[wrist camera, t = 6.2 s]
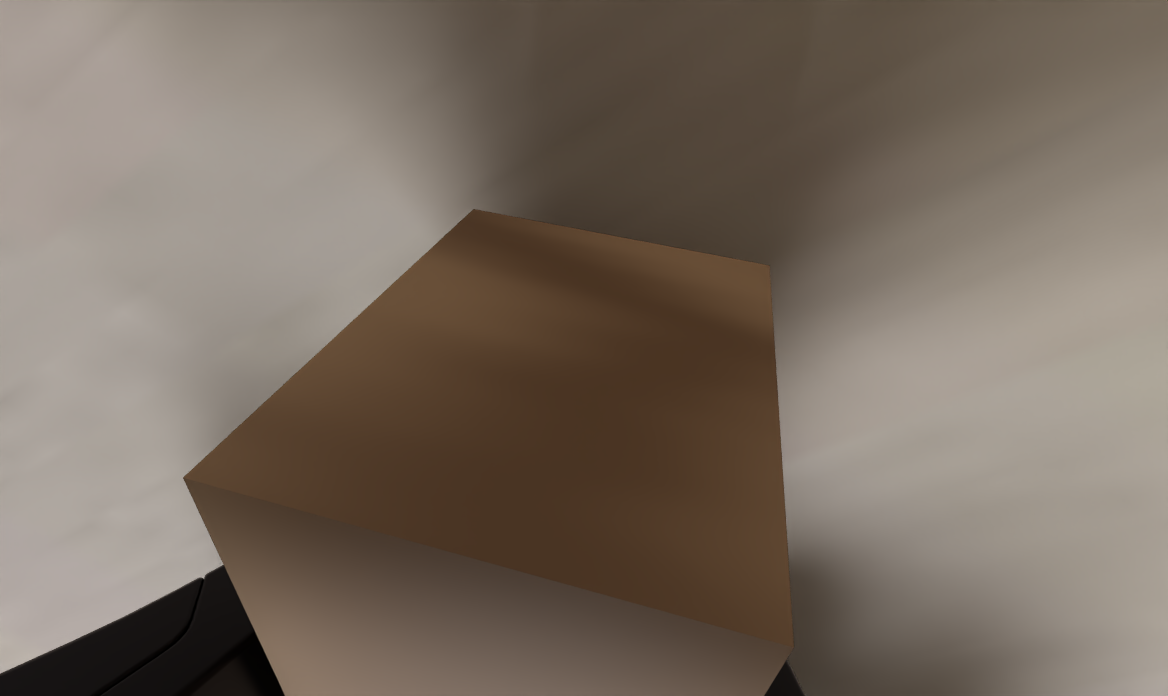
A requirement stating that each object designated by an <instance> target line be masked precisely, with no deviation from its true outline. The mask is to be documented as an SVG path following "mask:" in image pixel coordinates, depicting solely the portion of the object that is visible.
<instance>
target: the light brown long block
mask: <svg viewBox="0 0 1168 696" xmlns="http://www.w3.org/2000/svg"><path fill="white" fill-rule="evenodd" d="M183 479H184V481H185V483H186V485H187V487H188V489H189V492H190V494H191V496H192V498H193V500H194V502H195V504H196V506H197V509H198V511H199V513H200V515H201V517H202V519H203V521H204V524H205V526H206V528H207V530H208V532H209V534H210V536H211V539H212V541H213V543H214V545H215V547H216V549H217V551H218V553H219V556H220V558H221V560H222V562H223V564H224V566H225V568H226V571H227V573H228V575H229V577H230V579H231V581H232V583H233V585H234V588H235V590H236V592H237V594H238V596H239V598H240V600H241V603H242V605H243V607H244V609H245V611H246V613H247V615H248V617H249V620H250V622H251V624H252V626H253V628H254V630H255V632H256V635H257V637H258V639H259V641H260V643H261V645H262V647H263V649H264V652H265V654H266V656H267V658H268V660H269V662H270V664H271V667H272V669H273V671H274V673H275V675H276V677H277V679H278V681H279V684H280V686H281V688H282V690H283V692H284V694H285V696H764V695H765V693H766V692H767V690H768V689H769V687H770V685H771V684H772V682H773V681H774V679H775V677H776V676H777V674H778V673H779V671H780V669H781V668H782V666H783V664H784V663H785V661H786V660H787V658H788V656H789V655H790V653H791V652H792V650H793V648H794V640H793V624H792V608H791V593H790V577H789V562H788V546H787V530H786V515H785V499H784V484H783V468H782V453H781V437H780V421H779V406H778V390H777V375H776V359H775V343H774V328H773V312H772V297H771V281H770V266H769V265H764V264H759V263H754V262H748V261H743V260H738V259H733V258H727V257H722V256H717V255H712V254H707V253H701V252H696V251H691V250H686V249H680V248H675V247H670V246H665V245H659V244H654V243H649V242H644V241H638V240H633V239H628V238H623V237H617V236H612V235H607V234H602V233H596V232H591V231H586V230H581V229H575V228H570V227H565V226H560V225H554V224H549V223H544V222H539V221H533V220H528V219H523V218H518V217H512V216H507V215H502V214H497V213H491V212H486V211H481V210H476V209H473V210H472V211H471V212H470V213H469V214H468V215H467V216H466V217H465V218H464V219H462V220H461V221H460V222H459V223H458V224H457V225H456V226H455V227H454V228H453V229H452V230H451V231H449V232H448V233H447V234H446V235H445V236H444V237H443V238H442V239H441V240H440V241H439V242H438V243H436V244H435V245H434V246H433V247H432V248H431V249H430V250H429V251H428V252H427V253H426V254H425V255H423V256H422V257H421V258H420V259H419V260H418V261H417V262H416V263H415V264H414V265H413V266H412V267H411V268H409V269H408V270H407V271H406V272H405V273H404V274H403V275H402V276H401V277H400V278H399V279H398V280H396V281H395V282H394V283H393V284H392V285H391V286H390V287H389V288H388V289H387V290H386V291H385V292H383V293H382V294H381V295H380V296H379V297H378V298H377V299H376V300H375V301H374V302H373V303H372V304H370V305H369V306H368V307H367V308H366V309H365V310H364V311H363V312H362V313H361V314H360V315H359V316H357V317H356V318H355V319H354V320H353V321H352V322H351V323H350V324H349V325H348V326H347V327H346V328H345V329H343V330H342V331H341V332H340V333H339V334H338V335H337V336H336V337H335V338H334V339H333V340H332V341H330V342H329V343H328V344H327V345H326V346H325V347H324V348H323V349H322V350H321V351H320V352H319V353H317V354H316V355H315V356H314V357H313V358H312V359H311V360H310V361H309V362H308V363H307V364H306V365H304V366H303V367H302V368H301V369H300V370H299V371H298V372H297V373H296V374H295V375H294V376H293V377H291V378H290V379H289V380H288V381H287V382H286V383H285V384H284V385H283V386H282V387H281V388H280V389H279V390H277V391H276V392H275V393H274V394H273V395H272V396H271V397H270V398H269V399H268V400H267V401H266V402H264V403H263V404H262V405H261V406H260V407H259V408H258V409H257V410H256V411H255V412H254V413H253V414H251V415H250V416H249V417H248V418H247V419H246V420H245V421H244V422H243V423H242V424H241V425H240V426H238V427H237V428H236V429H235V430H234V431H233V432H232V433H231V434H230V435H229V436H228V437H227V438H225V439H224V440H223V441H222V442H221V443H220V444H219V445H218V446H217V447H216V448H215V449H214V450H213V451H211V452H210V453H209V454H208V455H207V456H206V457H205V458H204V459H203V460H202V461H201V462H200V463H198V464H197V465H196V466H195V467H194V468H193V469H192V470H191V471H190V472H189V473H188V474H187V475H185V476H184V477H183Z"/></svg>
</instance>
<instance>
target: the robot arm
mask: <svg viewBox="0 0 1168 696" xmlns="http://www.w3.org/2000/svg"><path fill="white" fill-rule="evenodd" d="M0 696H285V694H284V692H283V690H282V688H281V686H280V684H279V681H278V679H277V677H276V675H275V673H274V671H273V669H272V667H271V664H270V662H269V660H268V658H267V656H266V654H265V652H264V649H263V647H262V645H261V643H260V641H259V639H258V637H257V635H256V632H255V630H254V628H253V626H252V624H251V622H250V620H249V617H248V615H247V613H246V611H245V609H244V607H243V605H242V603H241V600H240V598H239V596H238V594H237V592H236V590H235V588H234V585H233V583H232V581H231V579H230V577H229V575H228V573H227V571H226V568H225V566H224V565H222V566H220V567H219V568H217V569H215V570H213V571H211V572H209V573H207V574H206V575H205V577H204V579H203V578H198V579H196V580H194V581H192V582H190V583H188V584H186V585H184V586H183V587H181V588H179V589H177V590H175V591H173V592H171V593H169V594H167V595H166V596H164V597H162V598H160V599H158V600H156V601H154V602H152V603H150V604H148V605H146V606H144V607H142V608H140V609H138V610H136V611H134V612H132V613H130V614H128V615H126V616H124V617H122V618H120V619H118V620H116V621H114V622H112V623H110V624H107V625H105V626H103V627H101V628H99V629H97V630H95V631H93V632H90V633H88V634H86V635H84V636H82V637H80V638H78V639H76V640H73V641H71V642H69V643H67V644H65V645H63V646H60V647H58V648H56V649H54V650H52V651H49V652H47V653H45V654H43V655H40V656H38V657H36V658H34V659H32V660H29V661H27V662H25V663H23V664H21V665H18V666H16V667H14V668H12V669H10V670H7V671H5V672H3V673H1V674H0ZM764 696H806V695H805V693H804V691H803V689H802V687H801V685H800V683H799V682H798V680H797V678H796V676H795V674H794V672H793V670H792V668H791V666H790V664H789V662H788V660H786V661H785V663H784V664H783V666H782V668H781V669H780V671H779V673H778V674H777V676H776V677H775V679H774V681H773V682H772V684H771V685H770V687H769V689H768V690H767V692H766V693H765V695H764Z"/></svg>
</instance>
